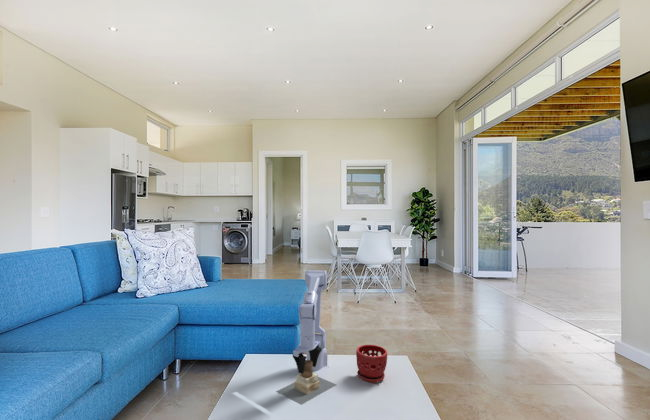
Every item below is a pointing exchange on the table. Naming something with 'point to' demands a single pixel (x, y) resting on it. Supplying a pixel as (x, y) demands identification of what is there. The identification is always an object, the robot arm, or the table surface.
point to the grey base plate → (302, 397)
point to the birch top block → (307, 379)
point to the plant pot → (371, 363)
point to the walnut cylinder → (308, 369)
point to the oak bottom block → (307, 389)
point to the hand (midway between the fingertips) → (307, 369)
